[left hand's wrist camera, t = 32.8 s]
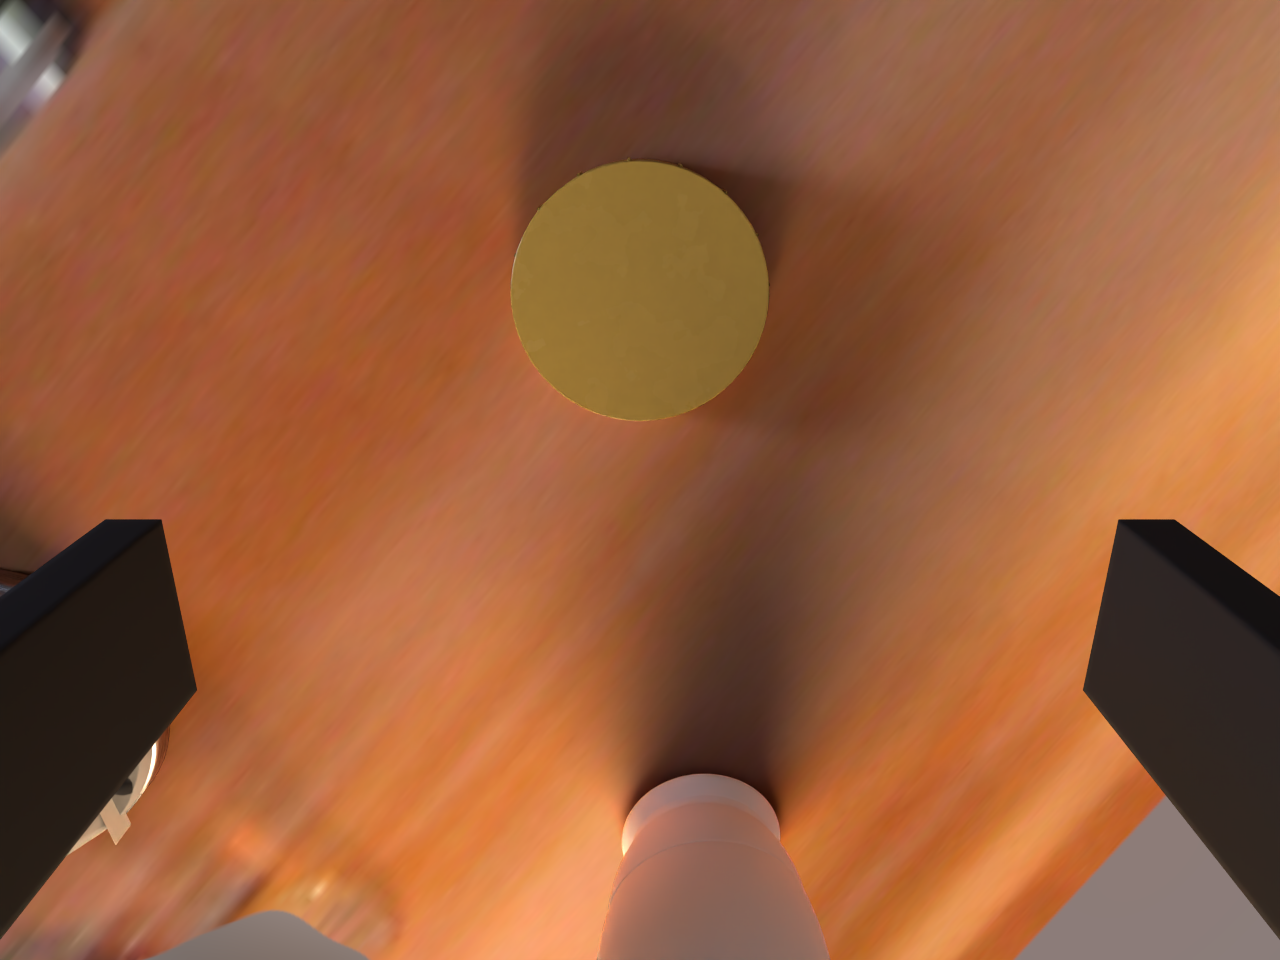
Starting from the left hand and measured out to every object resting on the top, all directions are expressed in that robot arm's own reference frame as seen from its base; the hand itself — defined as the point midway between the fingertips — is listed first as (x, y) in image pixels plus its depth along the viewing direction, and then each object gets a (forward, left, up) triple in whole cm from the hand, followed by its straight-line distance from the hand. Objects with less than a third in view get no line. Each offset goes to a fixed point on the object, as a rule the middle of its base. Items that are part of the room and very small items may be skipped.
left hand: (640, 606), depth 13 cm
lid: (0, 0, -25) cm, 25 cm away
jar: (-6, -28, -27) cm, 40 cm away
